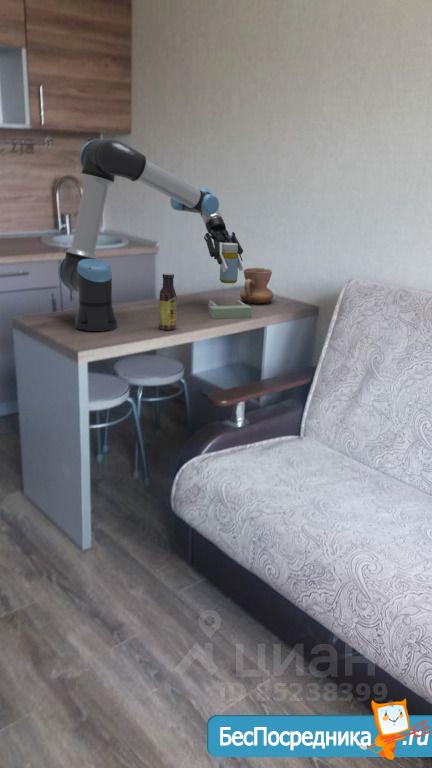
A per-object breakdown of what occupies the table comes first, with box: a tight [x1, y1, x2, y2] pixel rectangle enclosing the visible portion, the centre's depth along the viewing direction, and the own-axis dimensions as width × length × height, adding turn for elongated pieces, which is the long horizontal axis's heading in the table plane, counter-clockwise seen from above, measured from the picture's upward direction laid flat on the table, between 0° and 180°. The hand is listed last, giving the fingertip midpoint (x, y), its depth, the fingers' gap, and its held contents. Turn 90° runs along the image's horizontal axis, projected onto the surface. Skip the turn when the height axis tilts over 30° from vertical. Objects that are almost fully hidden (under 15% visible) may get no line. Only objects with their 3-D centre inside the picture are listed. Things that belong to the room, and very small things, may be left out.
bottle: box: [219, 242, 239, 284], centre depth 238 cm, size 7×7×15 cm
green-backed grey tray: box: [207, 299, 252, 320], centre depth 242 cm, size 16×13×4 cm
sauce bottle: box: [158, 272, 178, 331], centre depth 217 cm, size 7×6×20 cm
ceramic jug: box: [239, 267, 274, 305], centre depth 263 cm, size 18×14×14 cm
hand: (233, 269), depth 236 cm, fingers closed on bottle, 7 cm apart
